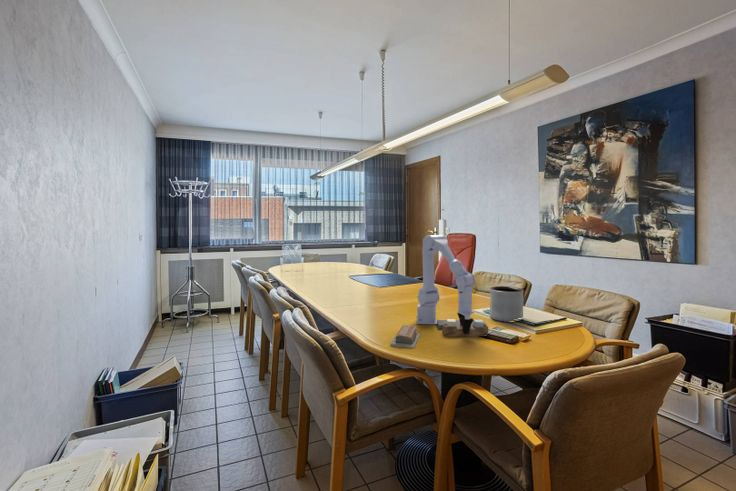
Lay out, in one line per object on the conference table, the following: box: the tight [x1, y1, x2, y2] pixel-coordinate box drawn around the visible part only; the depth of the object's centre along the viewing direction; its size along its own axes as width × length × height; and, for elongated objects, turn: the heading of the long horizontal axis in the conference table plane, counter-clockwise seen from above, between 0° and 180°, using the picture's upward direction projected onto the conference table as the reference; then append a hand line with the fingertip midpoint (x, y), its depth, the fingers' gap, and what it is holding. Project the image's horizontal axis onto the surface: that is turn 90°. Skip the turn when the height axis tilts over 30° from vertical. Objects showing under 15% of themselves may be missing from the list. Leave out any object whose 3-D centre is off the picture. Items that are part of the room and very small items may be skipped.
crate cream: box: [446, 318, 456, 327], centre depth 164 cm, size 4×4×3 cm
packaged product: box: [389, 324, 421, 349], centre depth 157 cm, size 18×5×10 cm
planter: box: [489, 285, 524, 323], centre depth 189 cm, size 16×16×16 cm
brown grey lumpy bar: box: [442, 322, 489, 338], centre depth 164 cm, size 19×6×5 cm, turn 84°
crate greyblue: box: [473, 319, 485, 327], centre depth 163 cm, size 4×4×3 cm
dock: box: [436, 318, 485, 330], centre depth 175 cm, size 22×10×2 cm, turn 84°
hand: (464, 331), depth 164 cm, fingers open, 7 cm apart
